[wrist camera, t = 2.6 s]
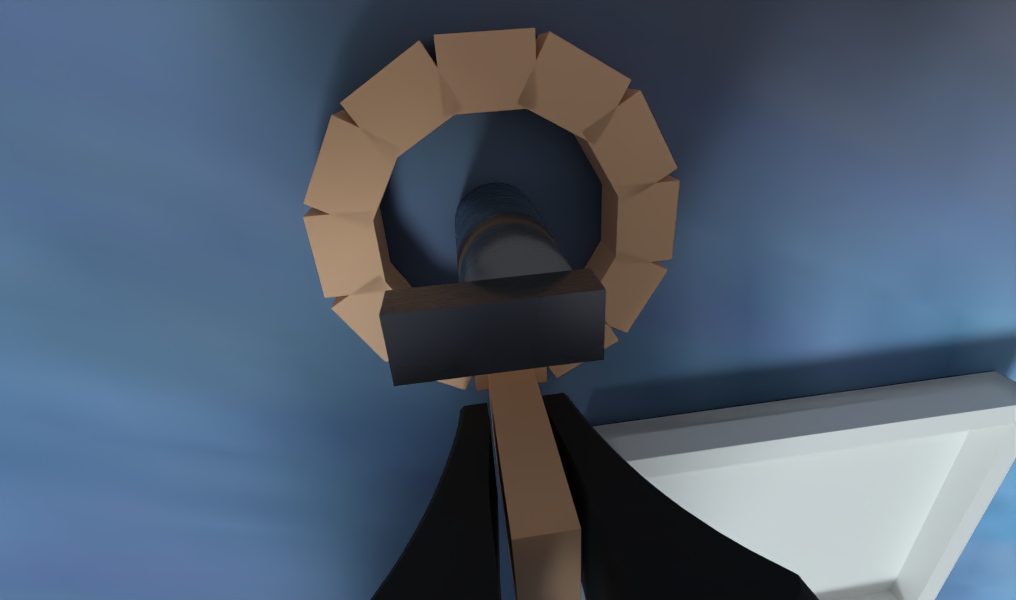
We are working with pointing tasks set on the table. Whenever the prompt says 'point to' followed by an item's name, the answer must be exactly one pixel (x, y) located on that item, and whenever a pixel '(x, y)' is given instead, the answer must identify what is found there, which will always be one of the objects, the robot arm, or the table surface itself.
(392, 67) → the ring
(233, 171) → the table surface
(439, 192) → the table surface
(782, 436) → the tray
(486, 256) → the dark grey stamp
